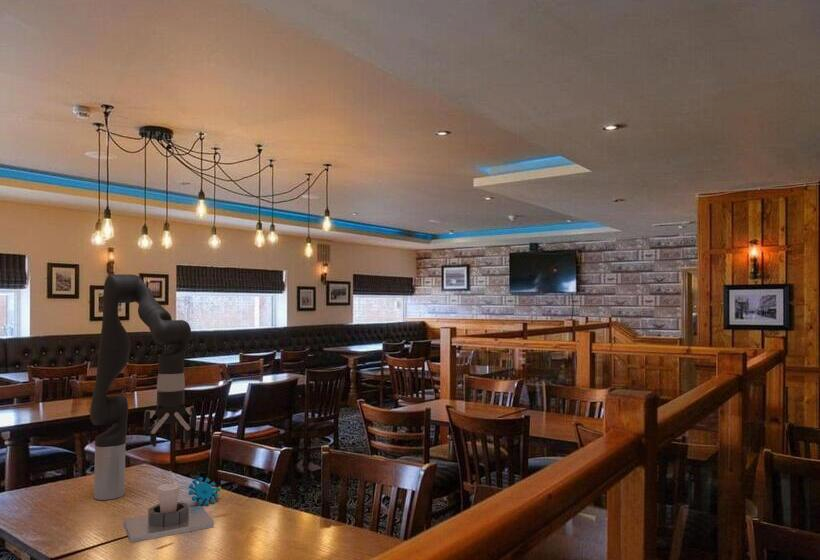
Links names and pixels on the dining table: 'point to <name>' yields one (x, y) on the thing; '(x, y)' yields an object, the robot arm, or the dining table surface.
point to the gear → (203, 491)
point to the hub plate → (167, 522)
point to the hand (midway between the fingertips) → (169, 444)
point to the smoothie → (168, 496)
